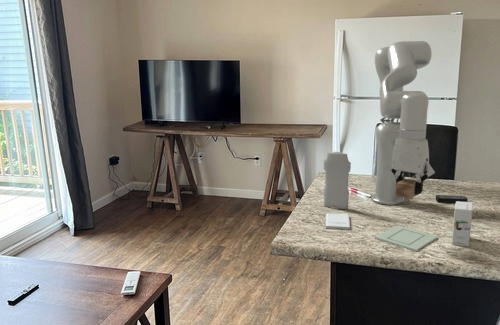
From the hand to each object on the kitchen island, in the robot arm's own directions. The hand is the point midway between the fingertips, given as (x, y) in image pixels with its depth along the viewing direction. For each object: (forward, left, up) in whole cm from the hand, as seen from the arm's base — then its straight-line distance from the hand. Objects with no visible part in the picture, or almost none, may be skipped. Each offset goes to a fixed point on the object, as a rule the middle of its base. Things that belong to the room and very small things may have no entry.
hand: (408, 191), depth 140 cm
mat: (0, 0, -16) cm, 16 cm away
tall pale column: (-9, -34, -16) cm, 38 cm away
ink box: (-10, +13, -16) cm, 23 cm away
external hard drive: (+4, -24, -16) cm, 29 cm away
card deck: (0, 0, -1) cm, 1 cm away
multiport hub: (-46, -5, -16) cm, 49 cm away
